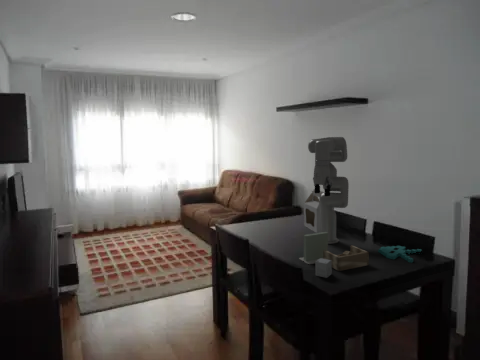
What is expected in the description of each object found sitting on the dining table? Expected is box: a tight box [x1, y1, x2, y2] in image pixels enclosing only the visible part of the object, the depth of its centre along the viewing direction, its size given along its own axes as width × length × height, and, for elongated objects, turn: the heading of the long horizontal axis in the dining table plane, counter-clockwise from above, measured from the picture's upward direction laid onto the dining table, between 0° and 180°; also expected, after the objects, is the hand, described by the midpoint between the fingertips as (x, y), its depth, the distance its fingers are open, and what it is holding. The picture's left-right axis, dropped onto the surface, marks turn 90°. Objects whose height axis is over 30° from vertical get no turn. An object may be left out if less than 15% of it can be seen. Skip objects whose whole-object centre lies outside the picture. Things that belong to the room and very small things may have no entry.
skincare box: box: [314, 258, 333, 279], centre depth 182 cm, size 6×6×7 cm
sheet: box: [303, 232, 329, 261], centre depth 204 cm, size 2×14×14 cm, turn 112°
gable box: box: [303, 188, 335, 233], centre depth 266 cm, size 22×13×28 cm, turn 14°
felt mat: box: [298, 256, 318, 265], centre depth 204 cm, size 10×16×1 cm, turn 112°
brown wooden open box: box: [323, 245, 370, 272], centre depth 196 cm, size 13×19×7 cm
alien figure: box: [377, 245, 423, 264], centre depth 209 cm, size 20×2×20 cm
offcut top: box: [341, 250, 351, 256], centre depth 196 cm, size 2×6×2 cm, turn 148°
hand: (322, 194), depth 202 cm, fingers open, 9 cm apart
